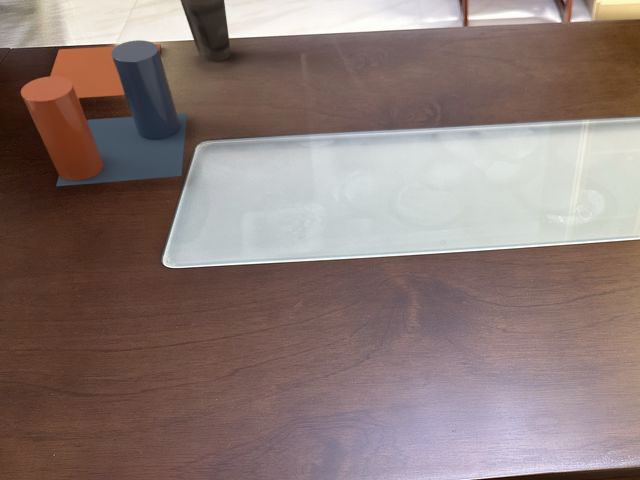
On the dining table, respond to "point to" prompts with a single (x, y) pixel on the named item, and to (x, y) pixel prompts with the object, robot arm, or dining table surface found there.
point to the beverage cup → (208, 28)
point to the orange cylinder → (63, 127)
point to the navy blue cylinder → (146, 89)
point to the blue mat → (133, 152)
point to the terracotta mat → (90, 71)
